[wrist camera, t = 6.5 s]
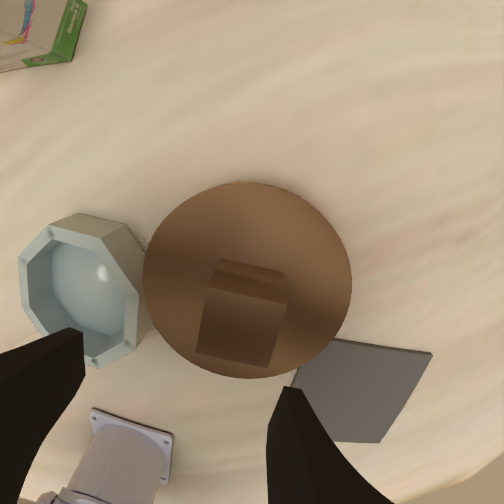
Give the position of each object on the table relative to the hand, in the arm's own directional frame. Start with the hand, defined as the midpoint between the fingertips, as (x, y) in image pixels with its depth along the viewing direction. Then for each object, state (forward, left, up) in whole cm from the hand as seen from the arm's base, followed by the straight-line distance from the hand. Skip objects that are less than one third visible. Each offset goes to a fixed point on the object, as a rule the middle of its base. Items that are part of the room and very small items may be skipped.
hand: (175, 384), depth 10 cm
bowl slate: (-2, +8, -10) cm, 13 cm away
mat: (-7, -12, -10) cm, 17 cm away
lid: (+1, -2, -7) cm, 7 cm away
